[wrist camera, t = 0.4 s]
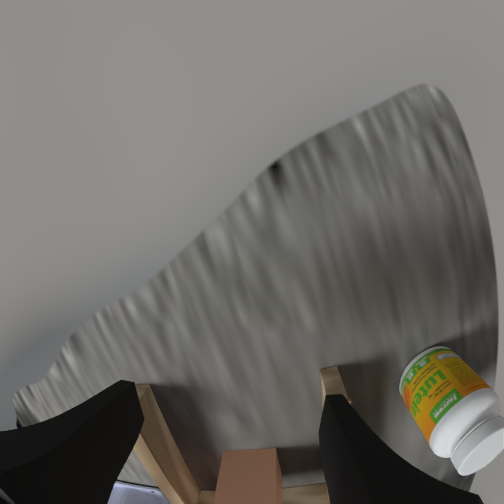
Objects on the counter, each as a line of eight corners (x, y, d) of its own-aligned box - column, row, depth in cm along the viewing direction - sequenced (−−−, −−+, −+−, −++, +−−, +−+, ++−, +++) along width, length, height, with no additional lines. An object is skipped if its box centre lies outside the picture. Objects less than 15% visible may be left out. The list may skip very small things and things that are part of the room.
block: (234, 477, 21) (226, 535, 15) (223, 450, 21) (211, 513, 14) (281, 475, 21) (282, 534, 14) (275, 447, 20) (275, 513, 13)
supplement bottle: (416, 339, 18) (488, 420, 8) (464, 347, 18) (533, 412, 8) (386, 398, 19) (431, 490, 9) (434, 401, 19) (484, 476, 9)
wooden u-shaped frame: (193, 495, 22) (185, 522, 18) (135, 384, 20) (114, 414, 16) (338, 486, 21) (344, 515, 17) (338, 366, 18) (351, 400, 15)
